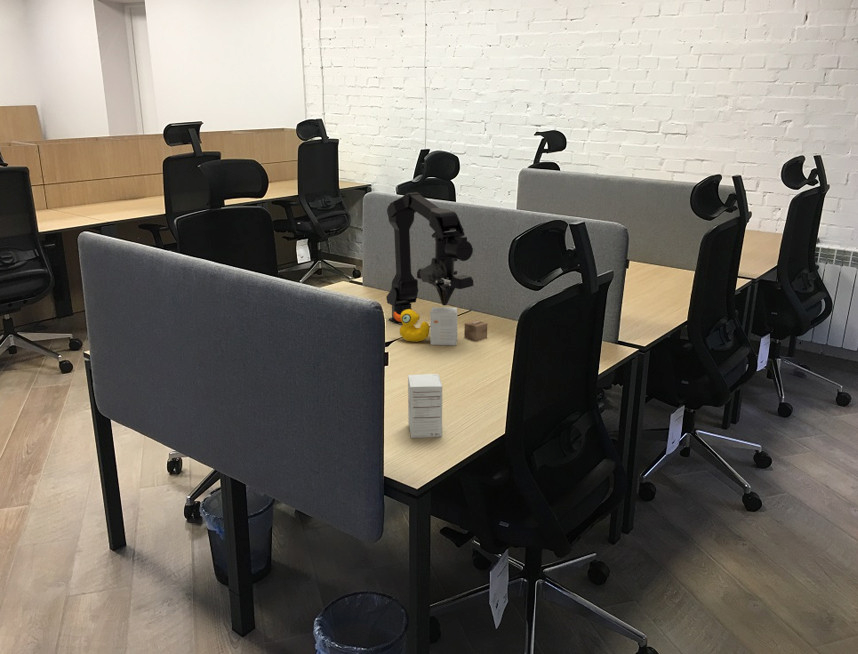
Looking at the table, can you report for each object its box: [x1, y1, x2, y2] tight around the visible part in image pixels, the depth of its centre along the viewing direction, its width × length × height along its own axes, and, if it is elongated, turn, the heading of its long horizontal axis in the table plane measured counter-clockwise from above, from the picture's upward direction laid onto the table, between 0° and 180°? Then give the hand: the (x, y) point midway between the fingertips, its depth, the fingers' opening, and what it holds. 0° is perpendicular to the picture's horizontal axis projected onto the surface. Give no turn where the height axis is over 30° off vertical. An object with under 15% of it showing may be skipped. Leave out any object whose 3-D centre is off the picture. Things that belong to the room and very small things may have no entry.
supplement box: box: [407, 373, 443, 439], centre depth 170 cm, size 7×7×13 cm
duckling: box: [393, 309, 430, 343], centre depth 229 cm, size 11×5×10 cm, turn 75°
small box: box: [429, 306, 458, 346], centre depth 228 cm, size 8×6×10 cm
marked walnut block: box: [463, 319, 488, 343], centre depth 232 cm, size 5×5×5 cm
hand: (444, 305), depth 226 cm, fingers closed
